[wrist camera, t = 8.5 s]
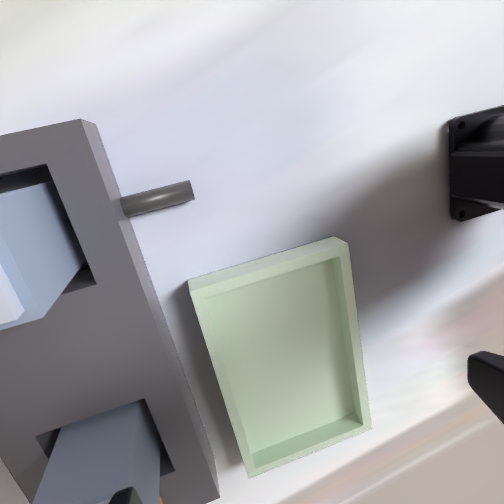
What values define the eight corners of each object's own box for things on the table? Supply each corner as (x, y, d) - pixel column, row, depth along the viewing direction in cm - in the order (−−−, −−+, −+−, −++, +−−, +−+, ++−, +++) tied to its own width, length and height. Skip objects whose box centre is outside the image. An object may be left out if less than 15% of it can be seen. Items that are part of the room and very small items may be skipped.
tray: (334, 236, 20) (348, 243, 19) (359, 411, 25) (371, 428, 24) (187, 279, 19) (189, 291, 17) (243, 456, 24) (248, 478, 22)
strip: (95, 124, 16) (75, 116, 12) (213, 455, 23) (221, 509, 20) (-118, 169, 14) (-207, 176, 11) (80, 507, 22) (64, 574, 18)
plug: (160, 425, 21) (157, 560, 14) (97, 448, 21) (61, 600, 14) (141, 375, 20) (126, 497, 13) (72, 398, 20) (18, 539, 12)
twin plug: (180, 150, 17) (189, 150, 10) (201, 224, 18) (222, 270, 11) (-32, 200, 15) (-200, 242, 8) (8, 277, 17) (-108, 369, 10)
